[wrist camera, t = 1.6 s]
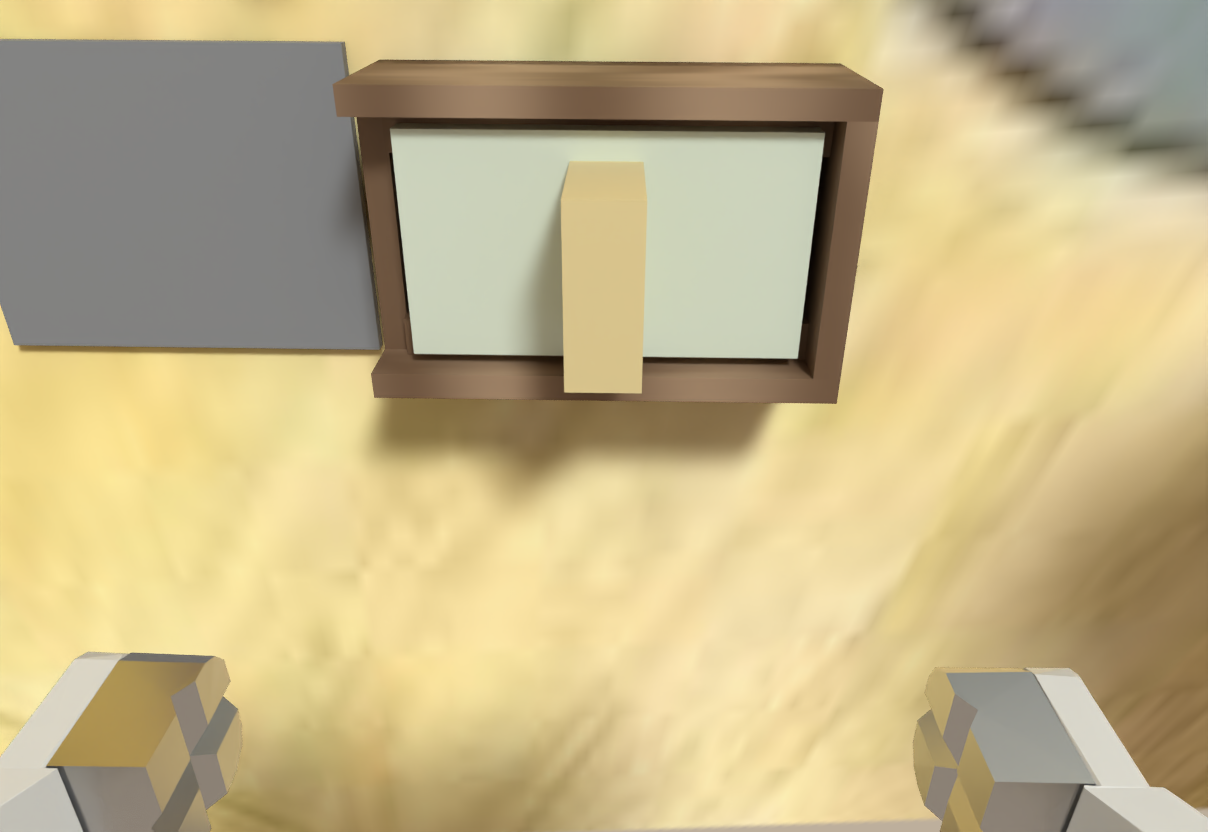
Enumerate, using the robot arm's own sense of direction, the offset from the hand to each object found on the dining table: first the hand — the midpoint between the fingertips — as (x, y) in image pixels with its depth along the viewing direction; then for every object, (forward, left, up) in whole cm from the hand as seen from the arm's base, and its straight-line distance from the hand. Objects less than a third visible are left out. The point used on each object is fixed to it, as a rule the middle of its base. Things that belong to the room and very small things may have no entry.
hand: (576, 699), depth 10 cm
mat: (+14, 0, -21) cm, 26 cm away
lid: (0, 0, -18) cm, 18 cm away
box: (0, 0, -21) cm, 21 cm away
